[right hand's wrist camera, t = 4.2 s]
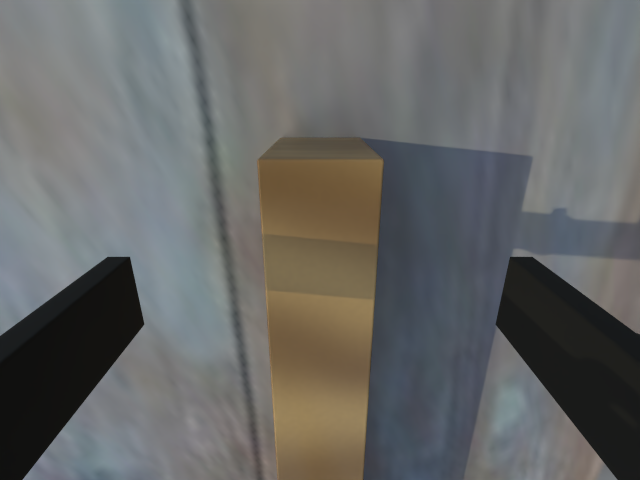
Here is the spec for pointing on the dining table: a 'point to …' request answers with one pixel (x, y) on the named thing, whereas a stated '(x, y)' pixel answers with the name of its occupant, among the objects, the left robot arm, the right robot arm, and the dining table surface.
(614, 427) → the right robot arm
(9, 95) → the dining table surface
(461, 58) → the dining table surface
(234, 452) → the dining table surface
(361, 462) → the bar
